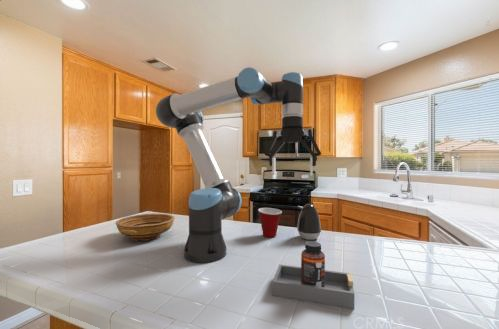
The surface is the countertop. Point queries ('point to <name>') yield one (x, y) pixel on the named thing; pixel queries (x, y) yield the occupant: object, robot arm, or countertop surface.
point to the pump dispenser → (308, 222)
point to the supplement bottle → (313, 265)
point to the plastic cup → (269, 221)
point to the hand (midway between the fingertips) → (292, 175)
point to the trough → (314, 287)
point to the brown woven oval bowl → (145, 225)
